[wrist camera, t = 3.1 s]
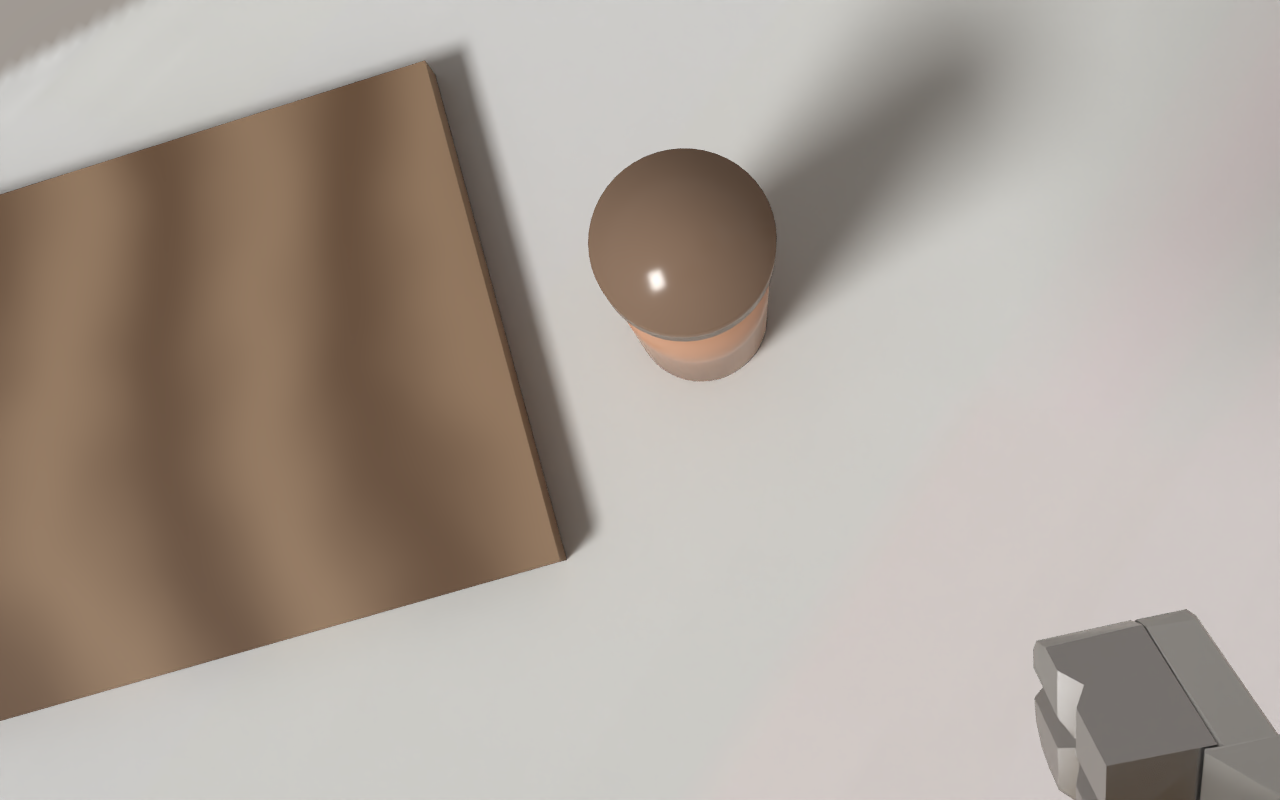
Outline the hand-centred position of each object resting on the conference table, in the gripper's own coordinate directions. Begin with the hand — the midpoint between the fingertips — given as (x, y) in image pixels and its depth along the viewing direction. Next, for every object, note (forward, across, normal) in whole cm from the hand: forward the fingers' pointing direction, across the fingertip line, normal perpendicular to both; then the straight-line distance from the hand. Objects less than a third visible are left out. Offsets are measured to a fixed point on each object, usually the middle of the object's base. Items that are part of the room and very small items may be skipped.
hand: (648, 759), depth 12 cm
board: (+24, +14, +8) cm, 29 cm away
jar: (+23, -2, +8) cm, 25 cm away
